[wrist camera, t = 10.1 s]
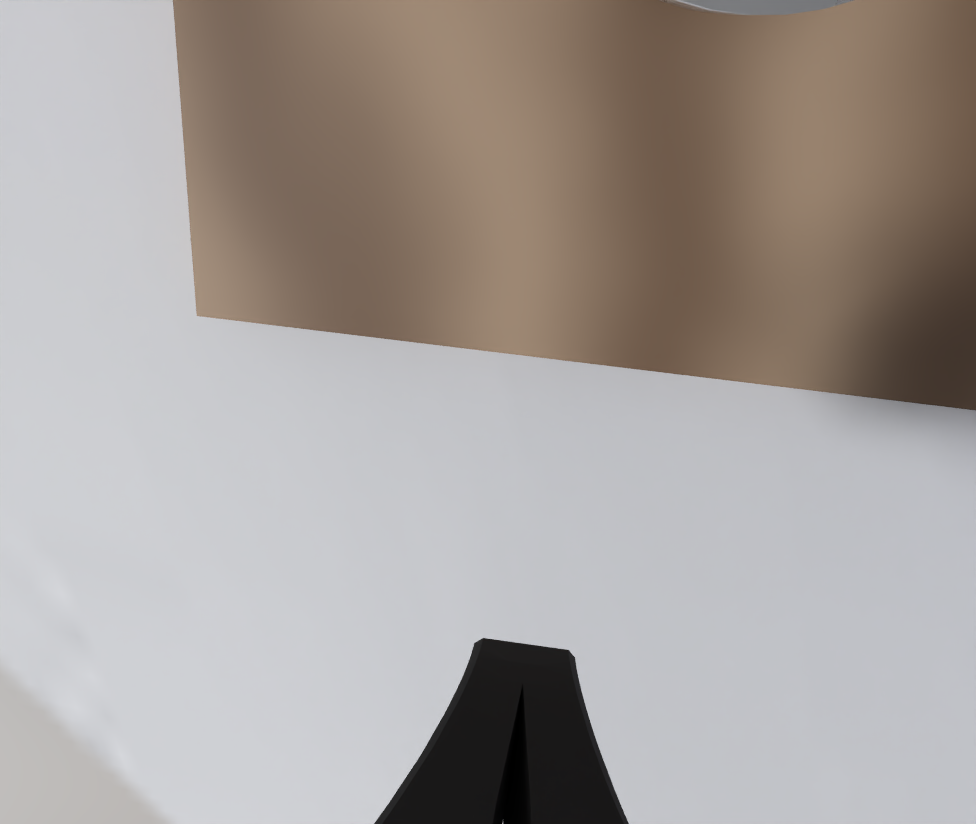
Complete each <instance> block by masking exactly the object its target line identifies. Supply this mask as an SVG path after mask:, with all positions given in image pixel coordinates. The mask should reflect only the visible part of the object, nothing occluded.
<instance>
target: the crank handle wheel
mask: <svg viewBox="0 0 976 824" xmlns="http://www.w3.org/2000/svg"><path fill="white" fill-rule="evenodd" d="M660 1H662V2H665V3H668V4H672V5H675V6H679V7H682V8H686V9H689V10H694V11H702V12H709V13H716V14H734V15H787V14H794V13H801V12H808V11H814V10H821V9H826V8H829V7H833V6H836V5H840V4H843V3H847V2H850V1H854V0H660Z"/></svg>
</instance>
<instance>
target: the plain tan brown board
mask: <svg viewBox="0 0 976 824" xmlns="http://www.w3.org/2000/svg"><path fill="white" fill-rule="evenodd" d="M173 6H174V20H175V33H176V46H177V59H178V73H179V86H180V99H181V113H182V126H183V139H184V152H185V166H186V179H187V192H188V205H189V219H190V232H191V245H192V258H193V272H194V285H195V298H196V311H197V316H203V317H211V318H219V319H227V320H236V321H244V322H252V323H260V324H269V325H277V326H285V327H293V328H302V329H310V330H318V331H326V332H335V333H343V334H351V335H359V336H368V337H376V338H384V339H392V340H400V341H409V342H417V343H425V344H433V345H442V346H450V347H458V348H466V349H475V350H483V351H491V352H499V353H508V354H516V355H524V356H532V357H541V358H549V359H557V360H565V361H574V362H582V363H590V364H598V365H607V366H615V367H623V368H631V369H640V370H648V371H656V372H664V373H673V374H681V375H689V376H697V377H706V378H714V379H722V380H730V381H739V382H747V383H755V384H763V385H772V386H780V387H788V388H796V389H805V390H813V391H821V392H829V393H838V394H846V395H854V396H862V397H871V398H879V399H887V400H895V401H904V402H912V403H920V404H928V405H937V406H945V407H953V408H961V409H970V410H976V0H854V1H850V2H847V3H843V4H840V5H836V6H833V7H829V8H826V9H821V10H814V11H808V12H801V13H794V14H787V15H734V14H716V13H709V12H702V11H694V10H689V9H686V8H682V7H679V6H675V5H672V4H668V3H665V2H662V1H660V0H173Z"/></svg>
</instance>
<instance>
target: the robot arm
mask: <svg viewBox="0 0 976 824" xmlns="http://www.w3.org/2000/svg"><path fill="white" fill-rule="evenodd" d="M502 823H503V824H629V823H628V821H627V819H626V816H625V814H624V812H623V809H622V807H621V805H620V802H619V800H618V797H617V795H616V792H615V790H614V787H613V785H612V782H611V779H610V777H609V774H608V771H607V769H606V766H605V763H604V761H603V758H602V755H601V753H600V750H599V747H598V744H597V741H596V738H595V736H594V733H593V729H592V726H591V723H590V720H589V716H588V713H587V710H586V707H585V703H584V699H583V695H582V692H581V688H580V683H579V679H578V674H577V669H576V663H575V657H574V656H573V655H572V654H571V653H570V651H569V650H564V649H557V648H550V647H543V646H536V645H529V644H521V643H514V642H507V641H500V640H493V639H486V638H483V639H481V640H479V641H477V642H476V643H474V647H473V650H472V654H471V657H470V660H469V663H468V665H467V668H466V670H465V673H464V675H463V677H462V680H461V682H460V684H459V686H458V688H457V690H456V692H455V694H454V696H453V698H452V700H451V702H450V704H449V706H448V708H447V710H446V712H445V714H444V716H443V717H442V719H441V721H440V723H439V724H438V726H437V728H436V730H435V731H434V733H433V735H432V737H431V739H430V740H429V742H428V744H427V746H426V747H425V749H424V751H423V752H422V754H421V756H420V757H419V759H418V760H417V762H416V763H415V765H414V766H413V768H412V769H411V771H410V772H409V774H408V775H407V777H406V778H405V780H404V781H403V783H402V784H401V786H400V787H399V789H398V791H397V792H396V794H395V795H394V797H393V798H392V800H391V801H390V803H389V804H388V805H387V807H386V808H385V810H384V811H383V812H382V814H381V815H380V816H379V818H378V819H377V821H376V822H375V823H374V824H502Z"/></svg>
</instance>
